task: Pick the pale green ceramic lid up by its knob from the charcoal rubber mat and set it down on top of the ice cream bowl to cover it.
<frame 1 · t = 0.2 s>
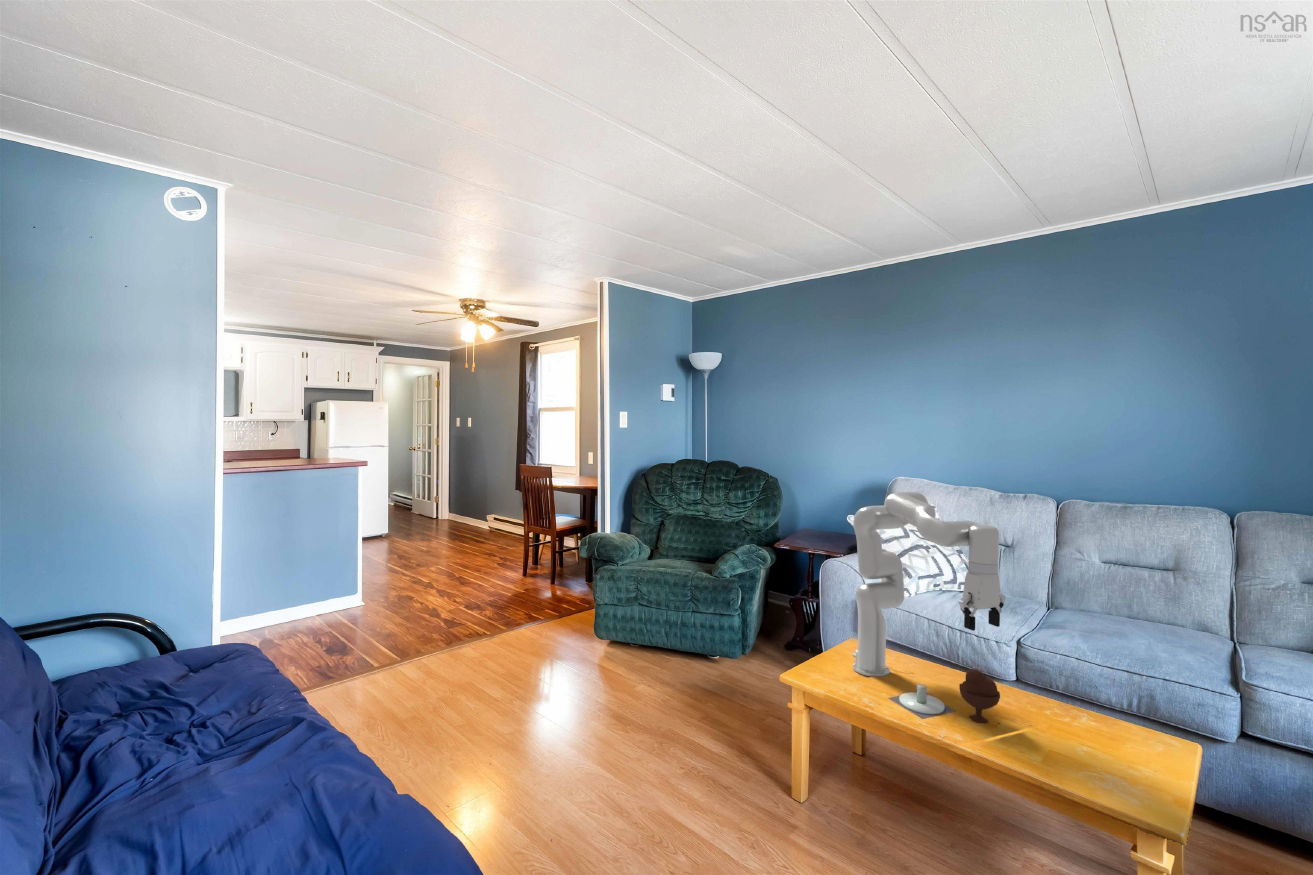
hand: (981, 627, 167), 31 cm above the table, fingers open, 9 cm apart
mat: (921, 706, 182), on the table
lid: (921, 704, 182), point 1 cm above the table, touching mat
ice cream bowl: (978, 721, 174), on the table
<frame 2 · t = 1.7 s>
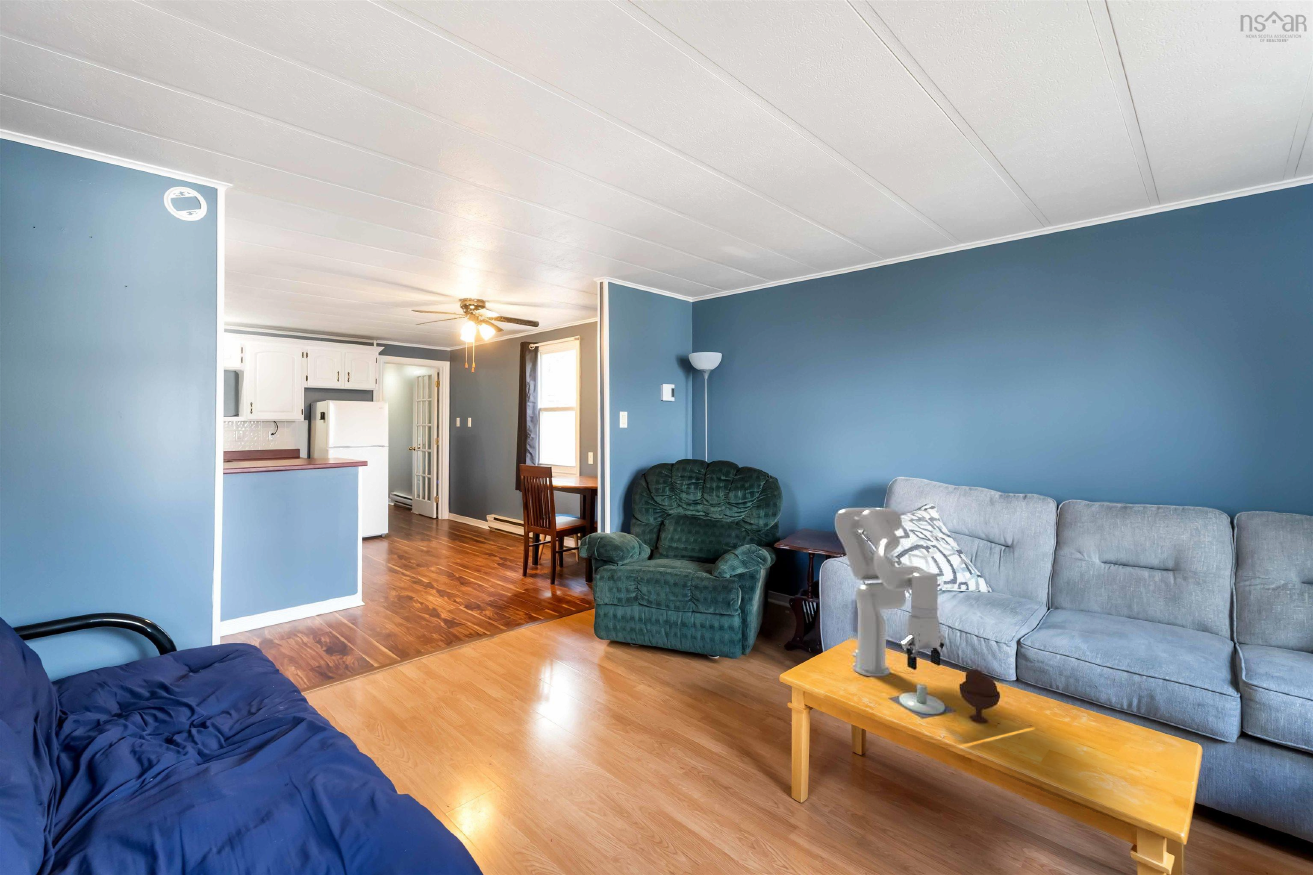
hand: (923, 666, 182), 13 cm above the table, fingers open, 9 cm apart
nothing on the table moved.
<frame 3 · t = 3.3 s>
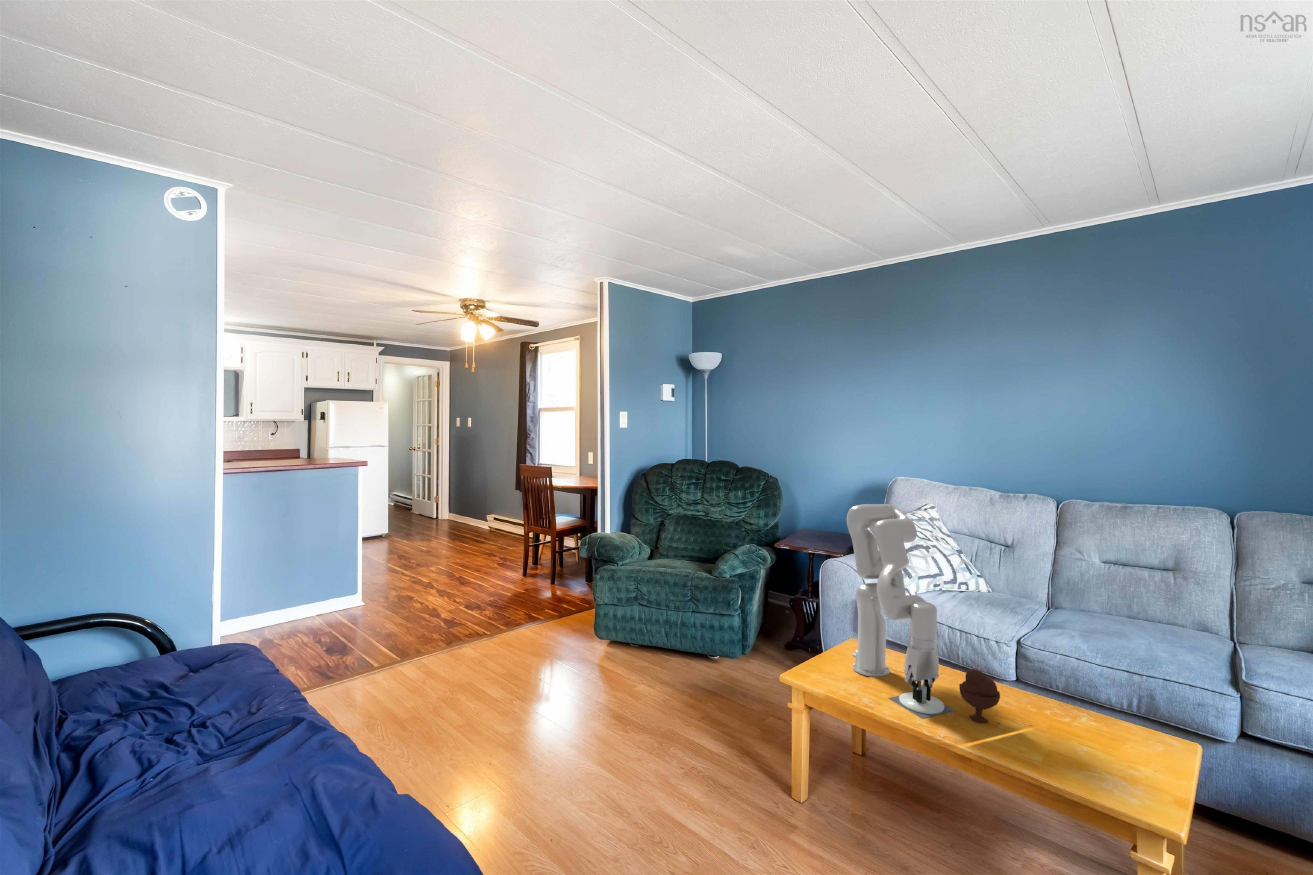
hand: (921, 699, 183), 2 cm above the table, fingers closed on lid, 2 cm apart
lid: (921, 704, 183), point 1 cm above the table, touching gripper, mat
everything else where it was.
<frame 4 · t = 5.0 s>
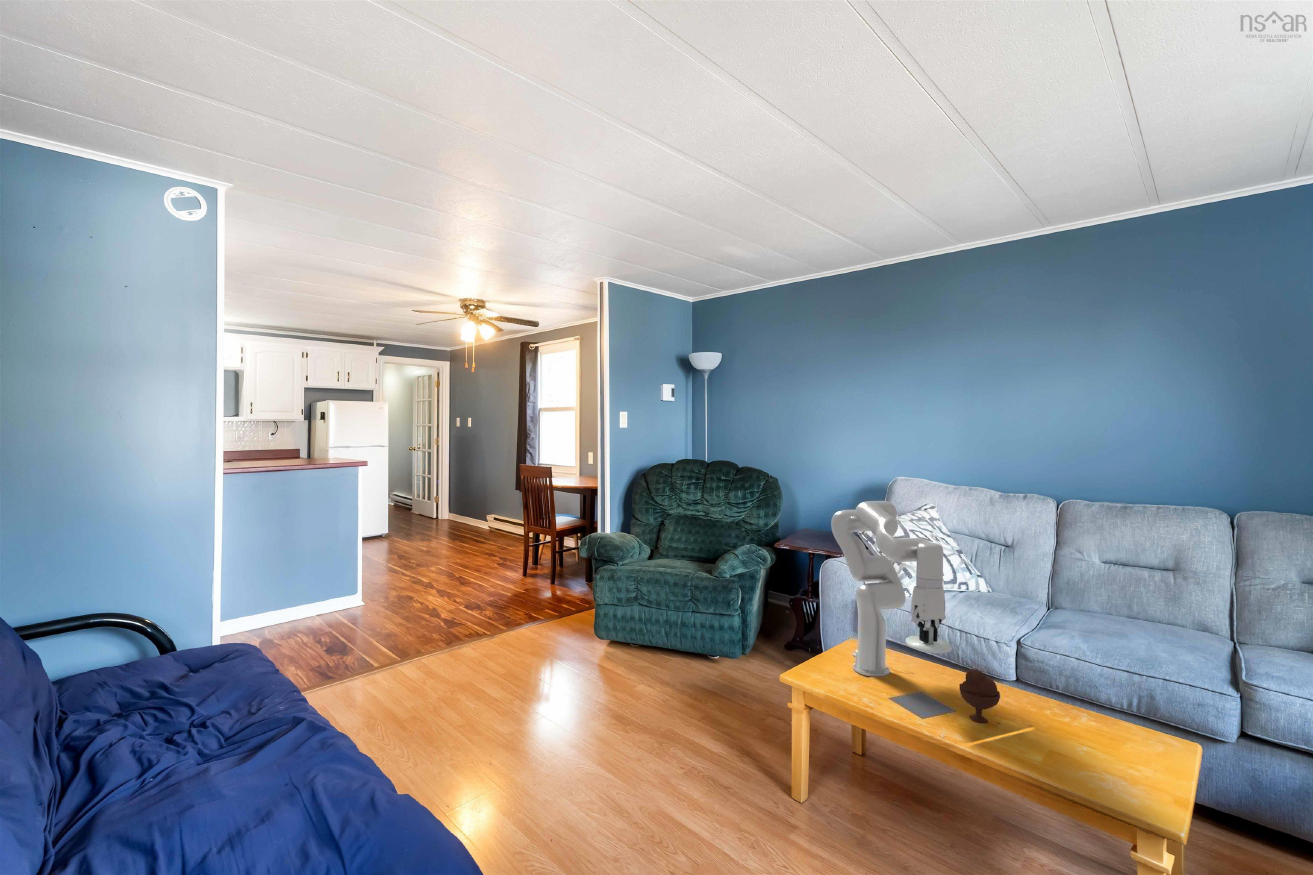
hand: (928, 640, 181), 21 cm above the table, fingers closed on lid, 2 cm apart
lid: (928, 645, 181), point 20 cm above the table, touching gripper
everything else where it was.
when the fingers open (18 cm above the table, at t = 6.6 s): lid drops 1 cm, resting on ice cream bowl.
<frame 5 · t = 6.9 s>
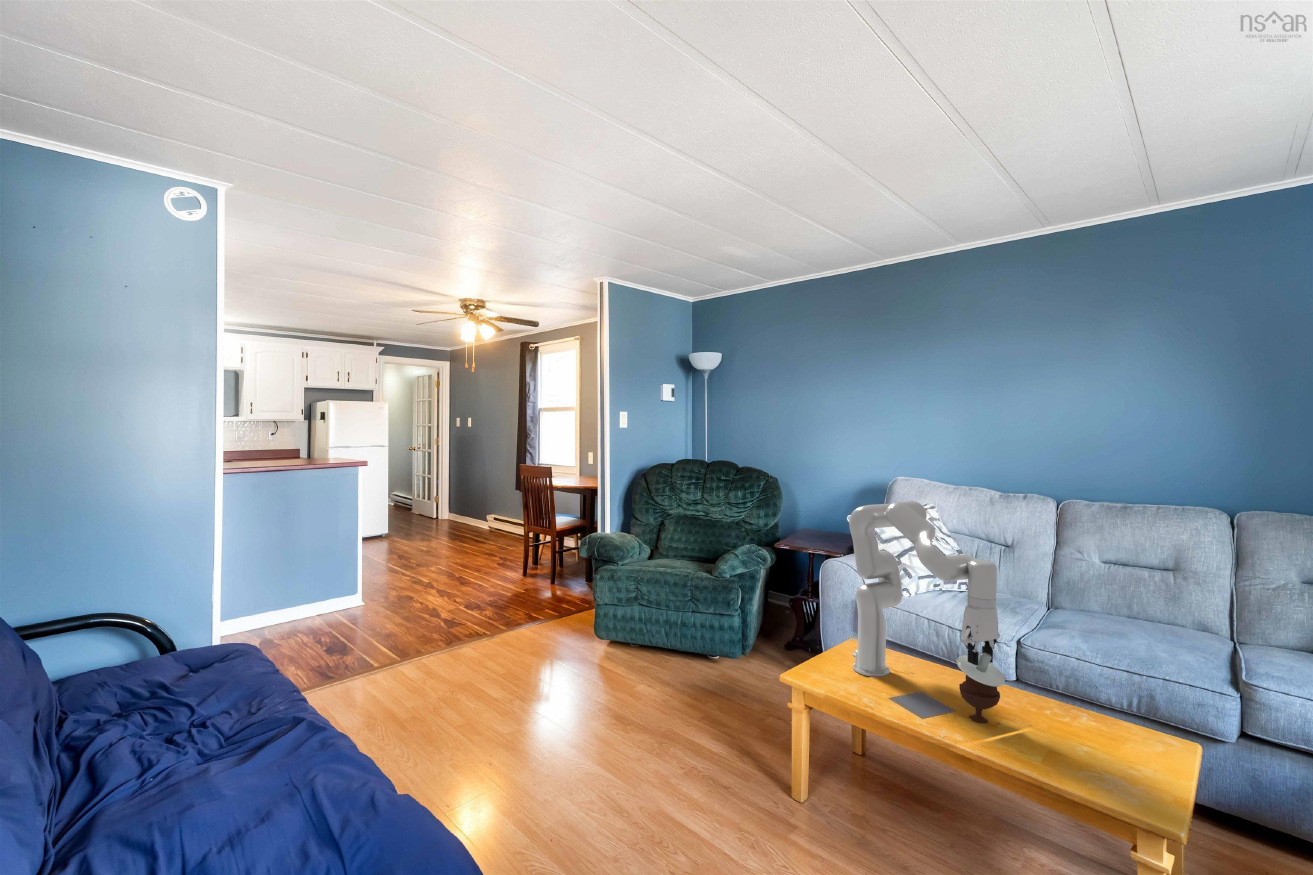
hand: (980, 661, 173), 18 cm above the table, fingers open, 5 cm apart
lid: (979, 671, 173), point 15 cm above the table, tilted 17°, touching ice cream bowl
ice cream bowl: (978, 721, 174), on the table, touching lid
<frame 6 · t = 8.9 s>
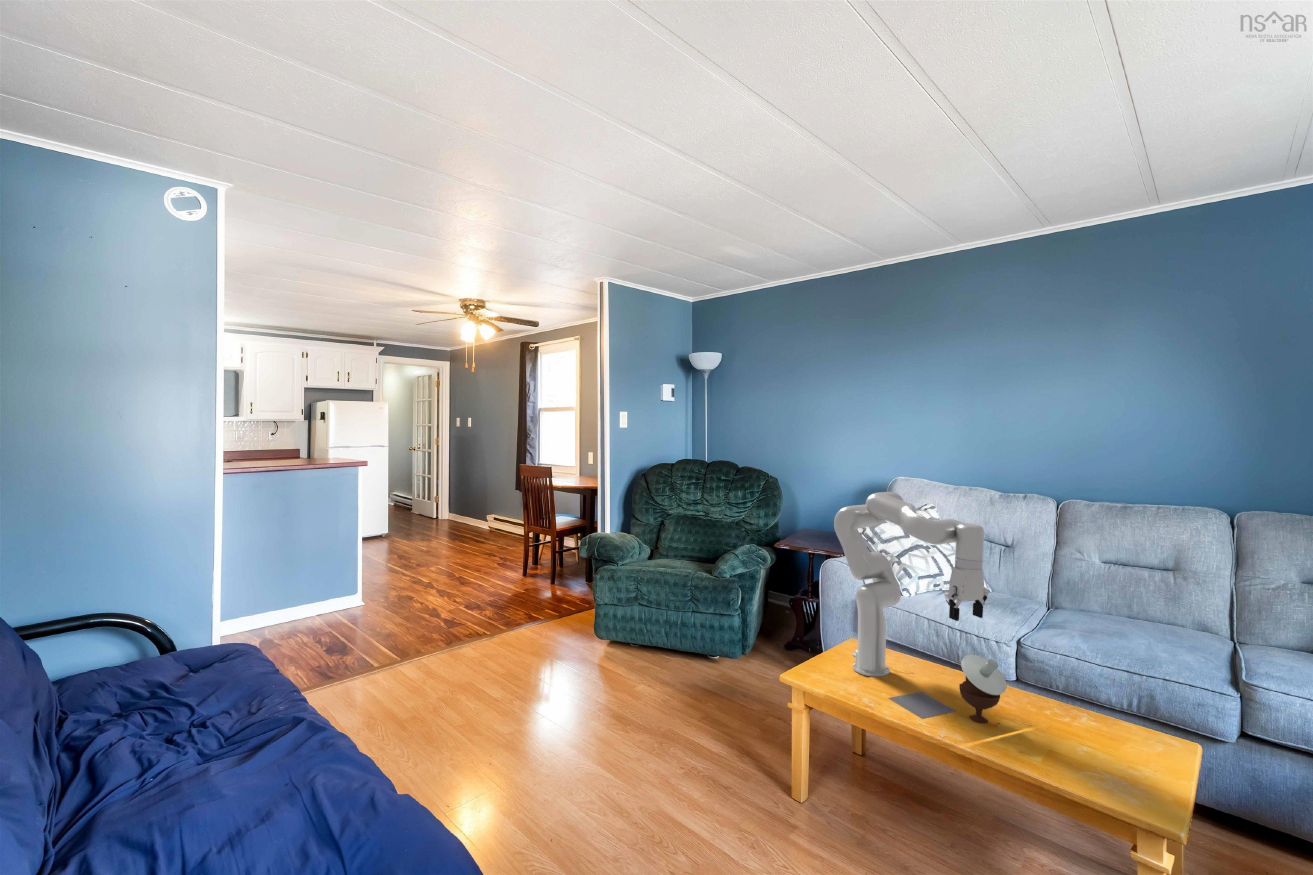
hand: (965, 617, 180), 29 cm above the table, fingers open, 9 cm apart
lid: (982, 674, 172), point 14 cm above the table, tilted 34°, touching ice cream bowl
everything else where it was.
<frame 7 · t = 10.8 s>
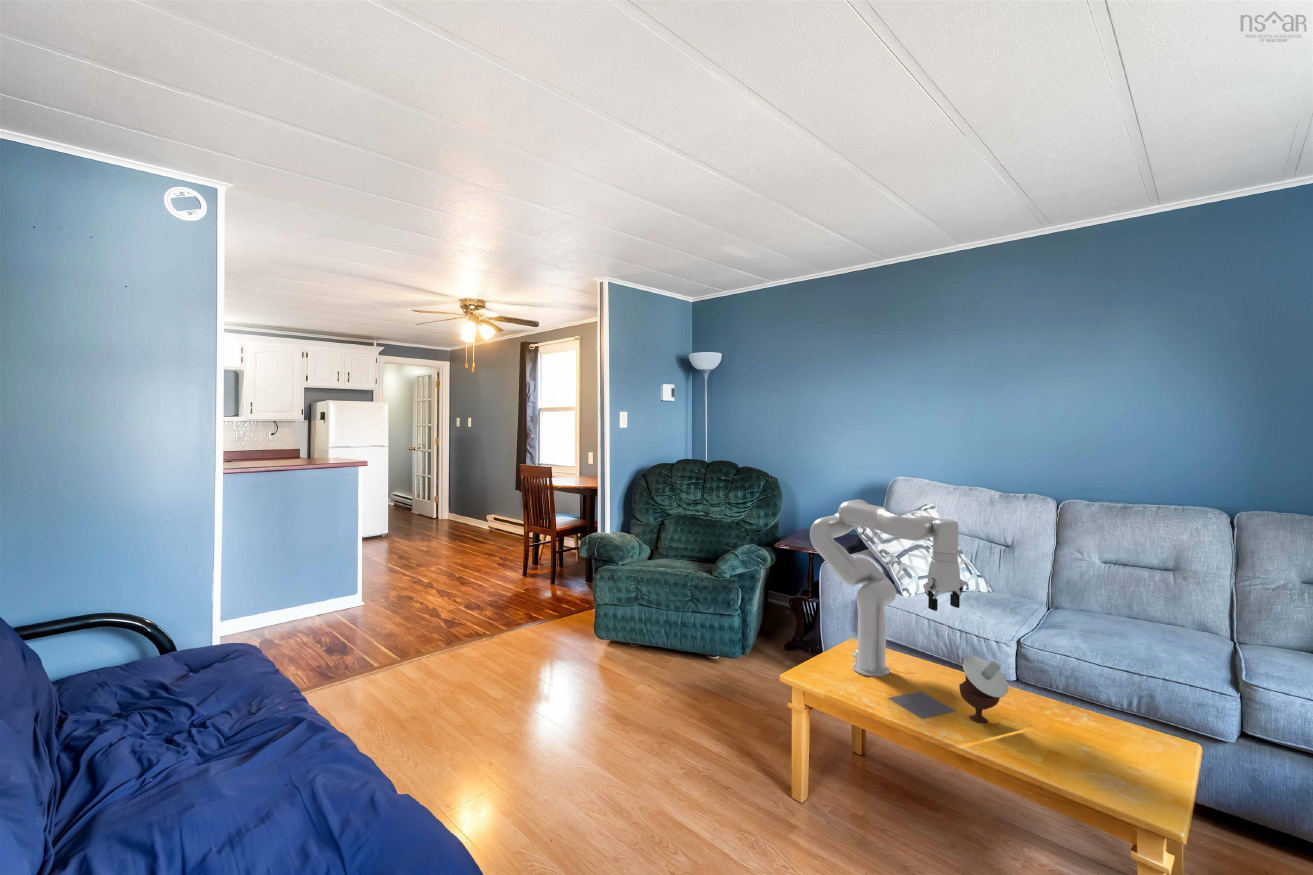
hand: (943, 608, 192), 28 cm above the table, fingers open, 9 cm apart
nothing on the table moved.
at the end: lid inside the target area on the ice cream bowl (1.7 cm from its centre), point 14.2 cm above the ice cream bowl's base; the gripper is holding nothing; ice cream bowl tilted 0° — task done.
